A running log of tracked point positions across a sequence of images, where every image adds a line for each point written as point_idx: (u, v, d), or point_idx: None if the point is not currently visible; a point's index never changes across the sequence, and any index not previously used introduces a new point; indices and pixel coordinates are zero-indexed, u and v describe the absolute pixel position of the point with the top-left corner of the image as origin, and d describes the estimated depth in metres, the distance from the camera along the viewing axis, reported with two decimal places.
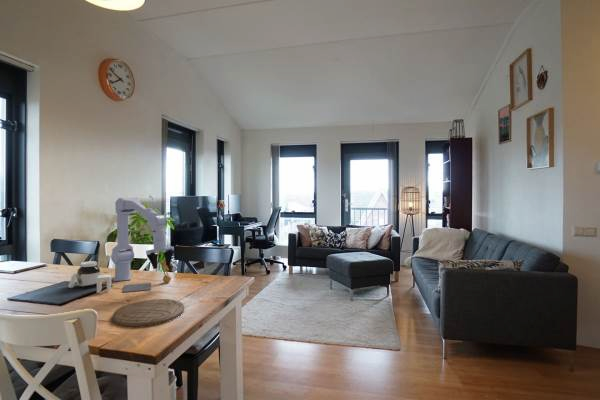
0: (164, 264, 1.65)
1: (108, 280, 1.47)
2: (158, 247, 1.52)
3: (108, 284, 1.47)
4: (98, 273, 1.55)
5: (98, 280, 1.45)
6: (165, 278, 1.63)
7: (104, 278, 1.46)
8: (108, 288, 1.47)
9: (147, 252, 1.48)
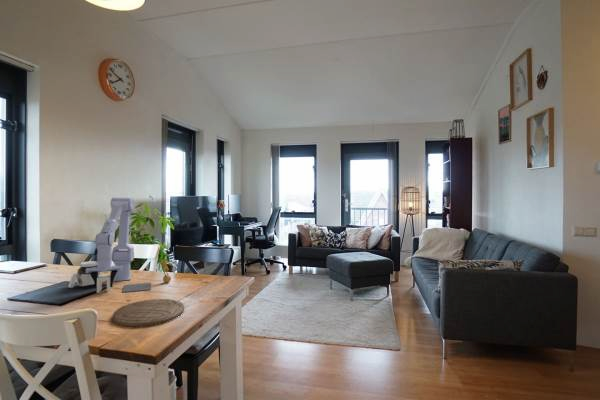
0: (164, 264, 1.65)
1: (108, 280, 1.47)
2: (98, 267, 1.45)
3: (108, 284, 1.47)
4: (98, 273, 1.55)
5: (98, 280, 1.45)
6: (165, 278, 1.63)
7: (104, 278, 1.46)
8: (108, 288, 1.47)
9: (86, 270, 1.45)
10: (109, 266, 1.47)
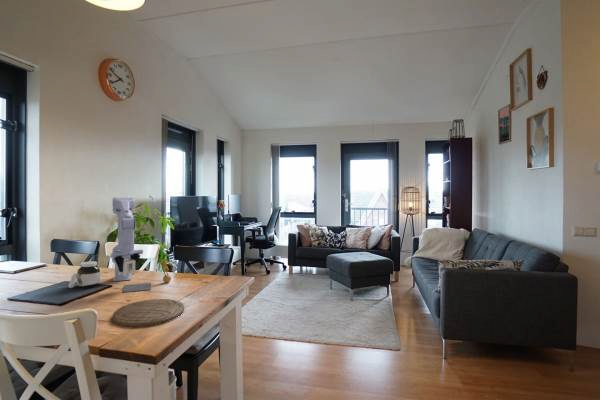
0: (164, 264, 1.65)
1: (134, 263, 1.52)
2: (124, 251, 1.49)
3: (134, 267, 1.52)
4: (98, 273, 1.55)
5: (125, 264, 1.49)
6: (165, 278, 1.63)
7: (130, 262, 1.51)
8: (134, 271, 1.52)
9: (111, 255, 1.46)
10: (133, 250, 1.53)
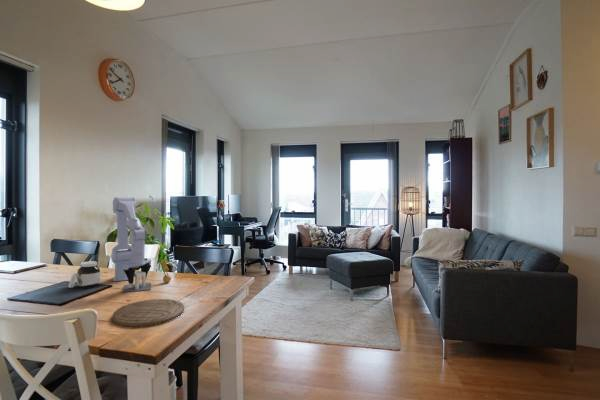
0: (164, 264, 1.65)
1: (144, 275, 1.55)
2: (136, 262, 1.51)
3: (144, 279, 1.55)
4: (98, 273, 1.55)
5: (138, 276, 1.51)
6: (165, 278, 1.63)
7: (142, 274, 1.53)
8: (144, 283, 1.55)
9: (125, 267, 1.47)
10: (144, 260, 1.55)
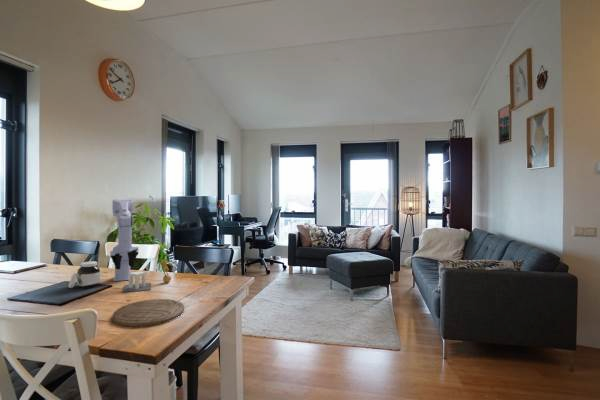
0: (164, 264, 1.65)
1: (144, 275, 1.55)
2: (123, 248, 1.53)
3: (144, 279, 1.55)
4: (98, 273, 1.55)
5: (138, 276, 1.51)
6: (165, 278, 1.63)
7: (142, 274, 1.53)
8: (144, 283, 1.55)
9: (111, 253, 1.49)
10: (131, 247, 1.57)
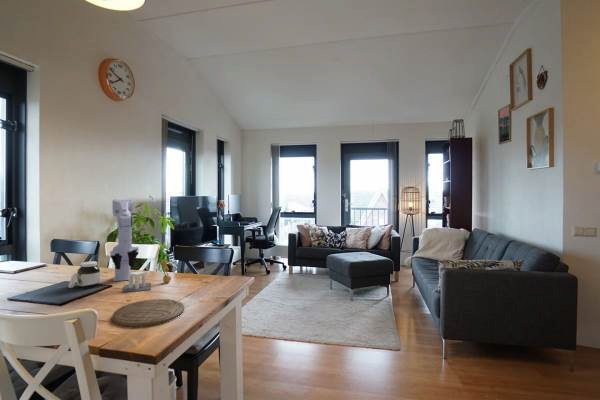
0: (164, 264, 1.65)
1: (144, 275, 1.55)
2: (123, 248, 1.53)
3: (144, 279, 1.55)
4: (98, 273, 1.55)
5: (138, 276, 1.51)
6: (165, 278, 1.63)
7: (142, 274, 1.53)
8: (144, 283, 1.55)
9: (111, 253, 1.49)
10: (131, 247, 1.57)
